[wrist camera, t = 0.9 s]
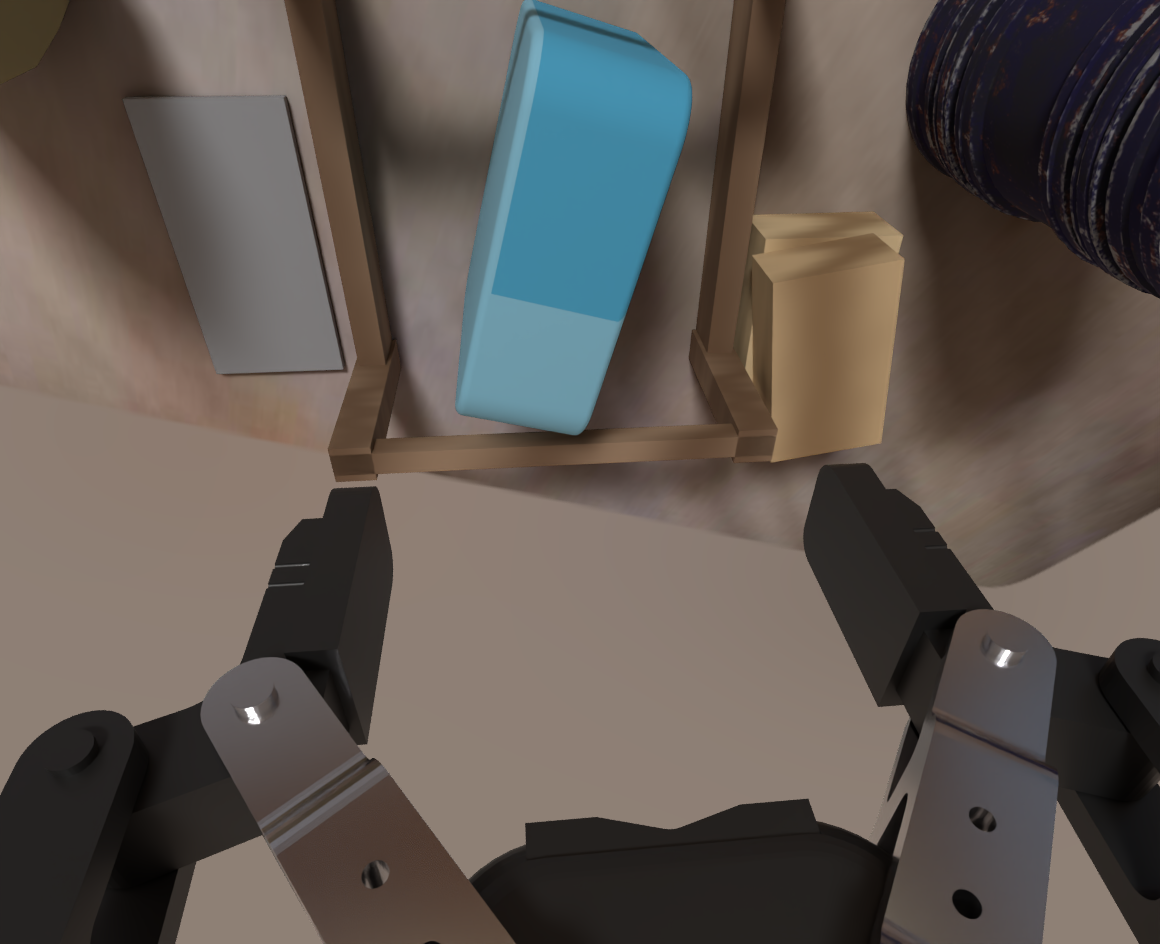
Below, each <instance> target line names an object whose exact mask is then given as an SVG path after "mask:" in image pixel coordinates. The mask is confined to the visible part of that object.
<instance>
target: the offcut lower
mask: <svg viewBox="0 0 1160 944" xmlns="http://www.w3.org/2000/svg"><path fill="white" fill-rule="evenodd" d="M870 233H874V234H875V235H876V236H878V237H879V238H880V239H881V240H882V241H883V242H885V243H886V244H887V245H888V246H889V247H891V248H892V249H893V250H894V251H895V252H897V253H899V249H900V246H901V242H902V239H903V235H902V234H901V233H900V232H899V231H897V230H896V229H895V228H893V227H892V226H891V225H890V224H888V223H887V222H886V221H885V220H883V219H882V218H881V217H879V216H878V215H877V214H876V213H874V212H842V213H805V214H769V215H753V220H752V226H751V233H750V239H749V246H748V252H747V259H746V265H745V272H744V279H743V285H742V292H741V298H740V305H739V311H738V318H737V324H736V331H735V337H734V344H733V347H734V349H735V351H736V353H737V355H738V356H739V358H740V360H741V362H742V364H743V366H744V368H745V369H746V371H747V373H748V375H749V377H750V379H751V380H752V382H753V326H752V255H756V254H761V253H767V252H772V251H778V250H783V249H789V248H794V247H799V246H805V245H810V244H816V243H821V242H827V241H832V240H837V239H843V238H848V237H854V236H859V235H865V234H870Z"/></svg>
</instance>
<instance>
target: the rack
mask: <svg viewBox="0 0 1160 944" xmlns="http://www.w3.org/2000/svg"><path fill="white" fill-rule="evenodd" d="M284 1H285V6H286V11H287V16H288V21H289V26H290V31H291V36H292V41H293V45H294V50H295V55H296V60H297V65H298V70H299V75H300V80H301V85H302V90H303V94H304V99H305V104H306V109H307V114H308V119H309V124H310V129H311V134H312V138H313V143H314V148H315V153H316V158H317V163H318V168H319V173H320V178H321V183H322V187H323V192H324V197H325V202H326V207H327V212H328V217H329V222H330V227H331V232H332V236H333V241H334V246H335V251H336V256H337V261H338V266H339V271H340V276H341V280H342V285H343V290H344V295H345V300H346V305H347V310H348V315H349V320H350V325H351V329H352V334H353V339H354V344H355V349H356V354H357V360H356V363H355V366H354V370H353V373H352V376H351V379H350V382H349V385H348V388H347V391H346V394H345V398H344V401H343V404H342V407H341V410H340V413H339V416H338V419H337V422H336V425H335V429H334V432H333V435H332V438H331V441H330V444H329V447H328V452H329V456H330V460H331V464H332V468H333V472H334V476H335V479H336V482H345V481H366V480H377V477H378V474H387V473H408V472H430V471H451V470H472V469H493V468H514V467H535V466H556V465H577V464H598V463H619V462H641V461H662V460H683V459H704V458H725V457H731V458H732V460H733V462H734V463H741V462H762V461H771V460H772V455H773V451H774V446H775V441H776V437H777V432H778V428H777V426H776V425H775V423H774V421H773V419H772V417H771V415H770V414H769V412H768V410H767V408H766V406H765V404H764V403H763V401H762V399H761V397H760V395H759V393H758V391H757V390H756V388H755V386H754V384H753V382H752V380H751V379H750V377H749V375H748V373H747V371H746V369H745V368H744V366H743V364H742V362H741V360H740V358H739V356H738V355H737V353H736V351H735V349H734V347H733V344H734V337H735V331H736V324H737V318H738V311H739V305H740V298H741V292H742V285H743V279H744V272H745V265H746V259H747V252H748V246H749V239H750V233H751V226H752V220H753V213H754V207H755V200H756V194H757V187H758V180H759V174H760V167H761V161H762V154H763V148H764V141H765V135H766V128H767V122H768V115H769V109H770V102H771V95H772V89H773V82H774V76H775V69H776V63H777V56H778V50H779V43H780V37H781V30H782V24H783V17H784V10H785V4H786V0H734V6H733V15H732V24H731V32H730V41H729V49H728V58H727V67H726V75H725V84H724V93H723V101H722V110H721V118H720V127H719V136H718V144H717V153H716V161H715V170H714V179H713V187H712V196H711V205H710V213H709V222H708V230H707V239H706V248H705V256H704V265H703V274H702V282H701V291H700V299H699V308H698V317H697V325H696V330H692V335H691V344H690V353H689V360H690V362H691V364H692V367H693V369H694V371H695V374H696V376H697V378H698V381H699V383H700V385H701V388H702V390H703V392H704V395H705V397H706V399H707V402H708V404H709V406H710V409H711V411H712V413H713V416H714V418H715V420H716V423H717V424H708V425H685V426H662V427H639V428H617V429H594V430H584V431H583V432H582V433H580V434H578V435H569V434H564V433H558V432H553V431H548V432H525V433H503V434H480V435H457V436H434V437H411V438H389V439H386V435H387V431H388V426H389V422H390V417H391V412H392V408H393V403H394V399H395V394H396V389H397V385H398V380H399V376H400V371H401V366H400V359H399V353H398V347H397V341H396V340H392V336H391V330H390V324H389V319H388V313H387V307H386V301H385V295H384V289H383V283H382V277H381V271H380V265H379V259H378V253H377V247H376V241H375V235H374V229H373V223H372V217H371V211H370V206H369V200H368V194H367V188H366V182H365V176H364V170H363V164H362V158H361V152H360V146H359V140H358V134H357V128H356V122H355V116H354V110H353V104H352V98H351V93H350V87H349V81H348V75H347V69H346V63H345V57H344V51H343V45H342V39H341V33H340V27H339V21H338V15H337V9H336V3H335V0H284Z"/></svg>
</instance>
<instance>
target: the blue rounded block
mask: <svg viewBox="0 0 1160 944" xmlns="http://www.w3.org/2000/svg"><path fill="white" fill-rule="evenodd" d="M691 107H692V87H691V83H690V80H689V78H688V77H687V75H686V74H685V73H683V72H682V71H681V70H680V69H679V68H678V67H676V66H675V65H674V64H673V63H672V62H670V61H669V60H668V59H667V58H666V57H665V56H663V55H662V54H661V53H660V52H659V51H657V50H656V49H655V48H654V47H653V46H652V45H650V44H649V43H648V42H647V41H646V40H644V39H643V38H642V37H641V36H640V35H639V34H637V33H635V32H632V31H629V30H626V29H623V28H620V27H617V26H614V25H611V24H607V23H604V22H601V21H598V20H595V19H592V18H589V17H586V16H583V15H580V14H577V13H573V12H570V11H567V10H564V9H561V8H558V7H555V6H552V5H549V4H546V3H543V2H539V1H536V0H524V2H523V3H522V5H521V9H520V13H519V17H518V21H517V26H516V31H515V35H514V40H513V45H512V51H511V56H510V61H509V66H508V71H507V76H506V82H505V87H504V92H503V97H502V102H501V107H500V112H499V118H498V123H497V128H496V133H495V138H494V143H493V149H492V154H491V159H490V164H489V169H488V174H487V179H486V185H485V190H484V195H483V200H482V205H481V210H480V215H479V221H478V226H477V231H476V236H475V241H474V246H473V252H472V257H471V262H470V267H469V273H468V279H467V285H466V292H465V302H464V313H463V324H462V335H461V346H460V357H459V369H458V380H457V391H456V402H455V407H456V411H457V412H458V413H459V414H460V415H464V416H470V417H475V418H481V419H486V420H492V421H497V422H503V423H508V424H514V425H519V426H525V427H530V428H536V429H541V430H547V431H553V432H558V433H564V434H569V435H578V434H580V433H582V432H583V431H584V429H585V428H586V426H587V425H588V423H589V421H590V418H591V416H592V413H593V410H594V407H595V404H596V401H597V398H598V395H599V393H600V390H601V387H602V384H603V381H604V378H605V375H606V372H607V369H608V366H609V363H610V360H611V357H612V354H613V351H614V348H615V345H616V342H617V339H618V337H619V334H620V331H621V328H622V325H623V322H624V319H625V316H626V313H627V310H628V307H629V304H630V301H631V298H632V295H633V292H634V289H635V286H636V284H637V281H638V278H639V275H640V272H641V269H642V266H643V263H644V260H645V257H646V254H647V251H648V248H649V245H650V242H651V239H652V236H653V233H654V231H655V228H656V225H657V222H658V219H659V216H660V213H661V210H662V207H663V204H664V201H665V198H666V195H667V192H668V189H669V186H670V183H671V180H672V177H673V175H674V172H675V169H676V166H677V163H678V160H679V157H680V154H681V151H682V148H683V145H684V141H685V138H686V134H687V130H688V125H689V120H690V114H691Z"/></svg>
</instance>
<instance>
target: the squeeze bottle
mask: <svg viewBox="0 0 1160 944" xmlns="http://www.w3.org/2000/svg"><path fill="white" fill-rule="evenodd" d="M69 1H70V0H0V84H2V83H4V82H6V81H8V80H10V79H12V78H14V77H16V76H18V75H21V74H23V73H25V72H27V71H29V70H31V69H33V68H35V67H37V65H38V63H39V62H40V60H41V58H42V57H43V55H44V53H45V52H46V50H47V48H48V47H49V45H50V43H51V42H52V40H53V38H54V36H55V35H56V33H57V31H58V30H59V28H60V25H61V22H62V20H63V17H64V14H65V12H66V9H67V6H68V3H69Z"/></svg>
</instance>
